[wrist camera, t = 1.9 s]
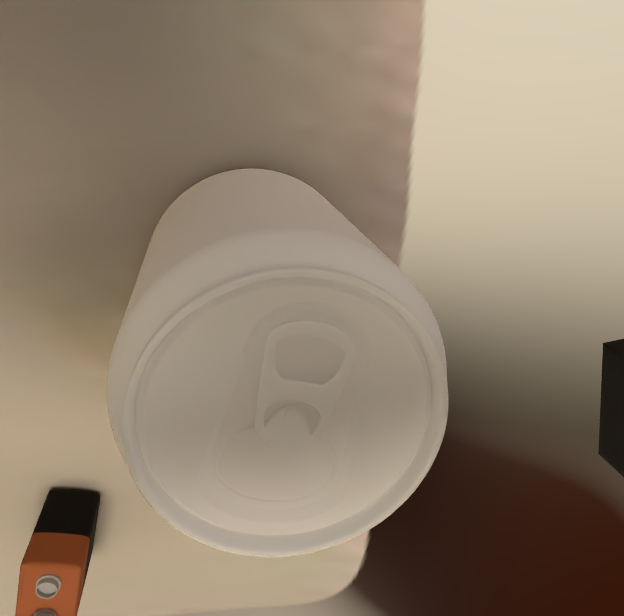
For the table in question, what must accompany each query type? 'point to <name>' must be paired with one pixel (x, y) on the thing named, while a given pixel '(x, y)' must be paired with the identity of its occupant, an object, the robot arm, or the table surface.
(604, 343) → the robot arm
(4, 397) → the table surface
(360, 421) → the beverage can
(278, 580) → the table surface
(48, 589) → the battery
